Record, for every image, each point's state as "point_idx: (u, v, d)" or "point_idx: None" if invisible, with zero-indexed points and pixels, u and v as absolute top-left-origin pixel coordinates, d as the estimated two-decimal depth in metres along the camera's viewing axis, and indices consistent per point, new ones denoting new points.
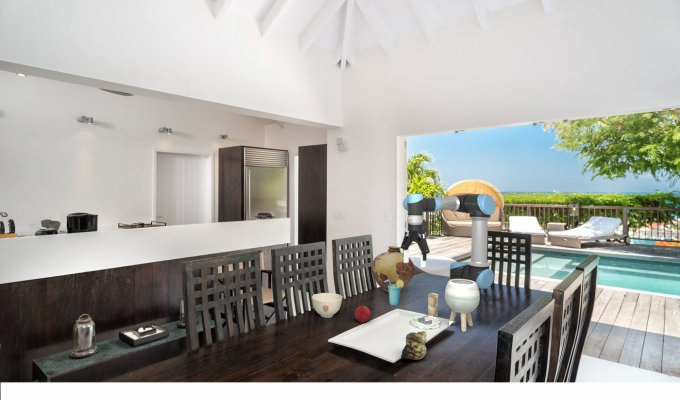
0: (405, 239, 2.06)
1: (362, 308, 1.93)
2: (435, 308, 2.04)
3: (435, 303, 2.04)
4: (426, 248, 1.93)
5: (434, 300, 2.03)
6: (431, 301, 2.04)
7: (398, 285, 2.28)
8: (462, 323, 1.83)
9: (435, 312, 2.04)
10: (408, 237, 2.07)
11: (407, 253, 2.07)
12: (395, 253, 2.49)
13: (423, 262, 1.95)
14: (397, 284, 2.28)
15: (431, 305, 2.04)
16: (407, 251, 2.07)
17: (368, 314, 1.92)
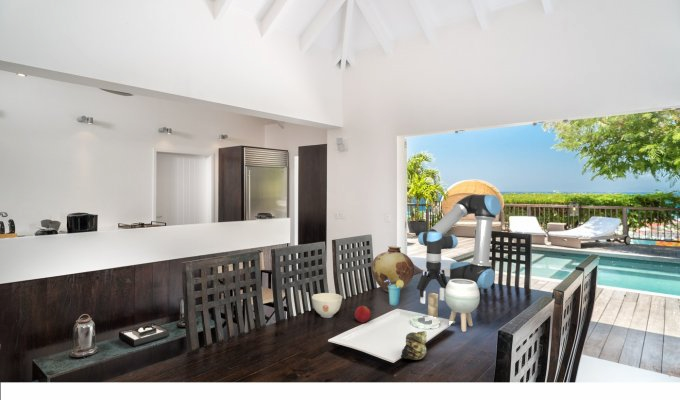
0: (441, 276, 2.09)
1: (362, 308, 1.93)
2: (435, 308, 2.04)
3: (435, 303, 2.04)
4: (419, 284, 2.00)
5: (434, 300, 2.03)
6: (431, 301, 2.04)
7: (398, 285, 2.28)
8: (462, 323, 1.83)
9: (435, 312, 2.04)
10: (442, 275, 2.07)
11: (442, 291, 2.08)
12: (395, 253, 2.49)
13: (422, 298, 2.01)
14: (397, 284, 2.28)
15: (431, 305, 2.04)
16: (442, 289, 2.08)
17: (368, 314, 1.92)
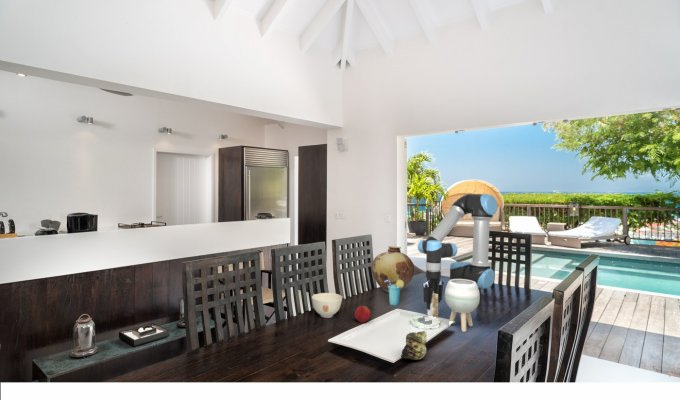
0: None
1: (362, 308, 1.93)
2: (435, 307, 2.04)
3: (435, 303, 2.04)
4: (424, 298, 2.02)
5: (434, 300, 2.03)
6: (431, 301, 2.04)
7: (398, 285, 2.28)
8: (462, 323, 1.83)
9: (435, 312, 2.04)
10: (440, 286, 2.07)
11: None
12: (395, 253, 2.49)
13: (429, 311, 2.04)
14: (397, 284, 2.28)
15: None
16: None
17: (368, 314, 1.92)
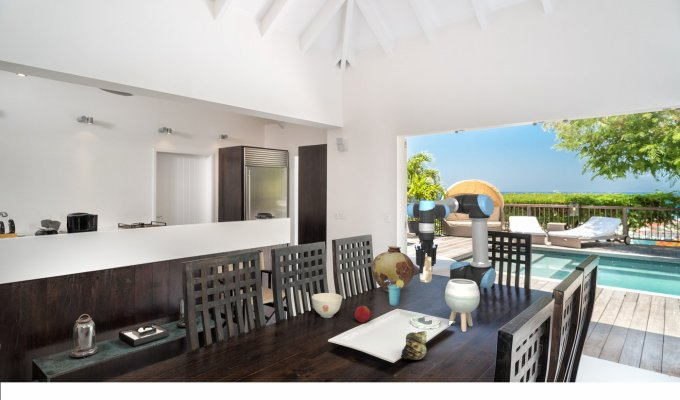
0: (431, 251, 1.95)
1: (362, 308, 1.93)
2: (428, 271, 1.91)
3: (429, 267, 1.91)
4: (417, 260, 1.90)
5: (427, 263, 1.91)
6: (424, 264, 1.91)
7: (398, 285, 2.28)
8: (462, 323, 1.83)
9: (428, 276, 1.91)
10: (434, 249, 1.94)
11: None
12: (395, 253, 2.49)
13: (421, 275, 1.91)
14: (397, 284, 2.28)
15: None
16: None
17: (368, 314, 1.92)
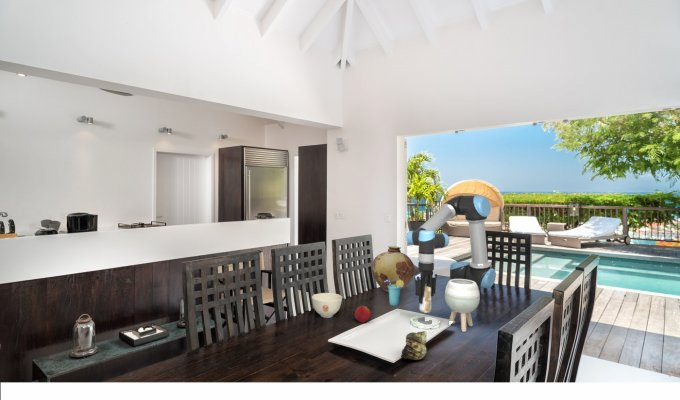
0: None
1: (362, 308, 1.93)
2: (428, 302, 1.91)
3: (428, 297, 1.91)
4: (416, 291, 1.90)
5: (427, 294, 1.91)
6: None
7: (398, 285, 2.28)
8: (462, 323, 1.83)
9: (428, 306, 1.91)
10: (433, 279, 1.94)
11: None
12: (395, 253, 2.49)
13: (421, 305, 1.92)
14: (397, 284, 2.28)
15: None
16: None
17: (368, 314, 1.92)
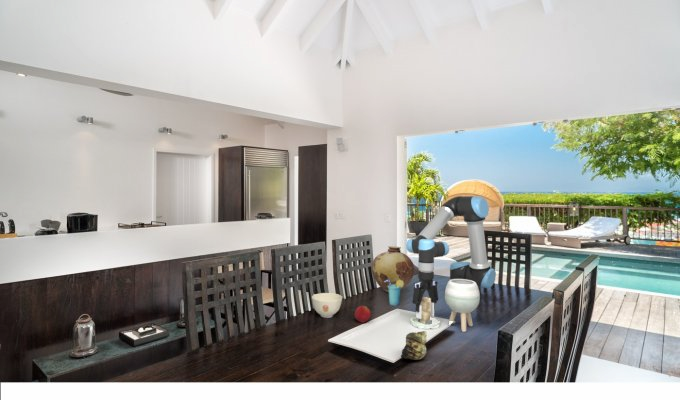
0: (432, 288, 1.96)
1: (362, 308, 1.93)
2: (428, 313, 1.91)
3: (428, 308, 1.92)
4: (414, 299, 1.89)
5: (426, 305, 1.91)
6: (423, 305, 1.91)
7: (398, 285, 2.28)
8: (462, 323, 1.83)
9: (428, 317, 1.92)
10: (434, 287, 1.95)
11: (431, 306, 1.94)
12: (395, 253, 2.49)
13: (418, 313, 1.91)
14: (397, 284, 2.28)
15: (423, 310, 1.91)
16: (431, 304, 1.94)
17: (368, 314, 1.92)
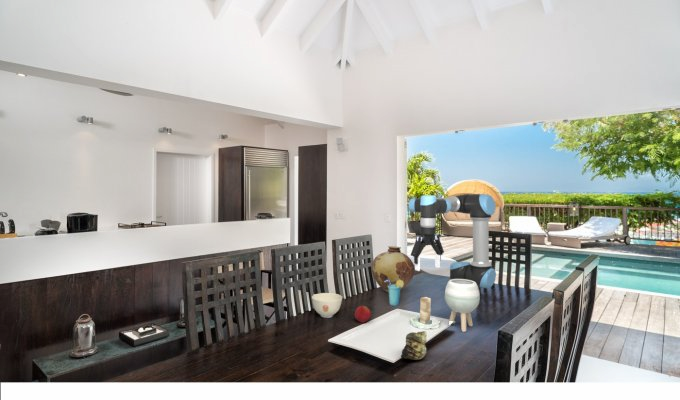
0: (436, 243, 1.98)
1: (362, 308, 1.93)
2: (428, 313, 1.91)
3: (428, 308, 1.92)
4: (413, 251, 1.90)
5: (426, 305, 1.91)
6: (423, 305, 1.91)
7: (398, 285, 2.28)
8: (462, 323, 1.83)
9: (428, 317, 1.92)
10: (437, 241, 1.97)
11: (437, 258, 1.97)
12: (395, 253, 2.49)
13: (416, 265, 1.91)
14: (397, 284, 2.28)
15: (423, 310, 1.91)
16: (437, 256, 1.97)
17: (368, 314, 1.92)
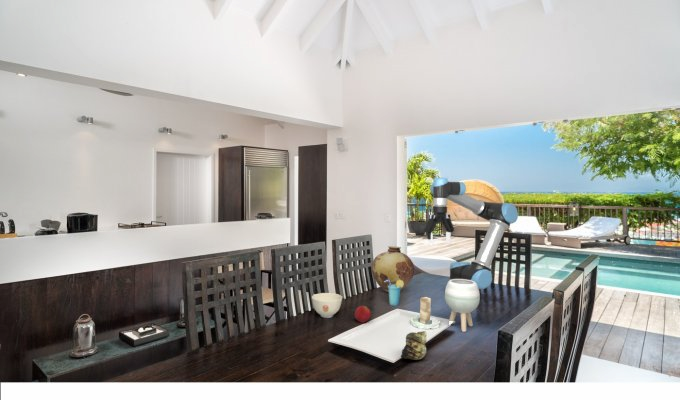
0: (447, 221, 2.19)
1: (362, 308, 1.93)
2: (428, 313, 1.91)
3: (428, 308, 1.92)
4: (426, 227, 2.10)
5: (426, 305, 1.91)
6: (423, 305, 1.91)
7: (398, 285, 2.28)
8: (462, 323, 1.83)
9: (428, 317, 1.92)
10: (448, 220, 2.17)
11: (448, 235, 2.18)
12: (395, 253, 2.49)
13: (429, 241, 2.11)
14: (397, 284, 2.28)
15: (423, 310, 1.91)
16: (448, 233, 2.18)
17: (368, 314, 1.92)
